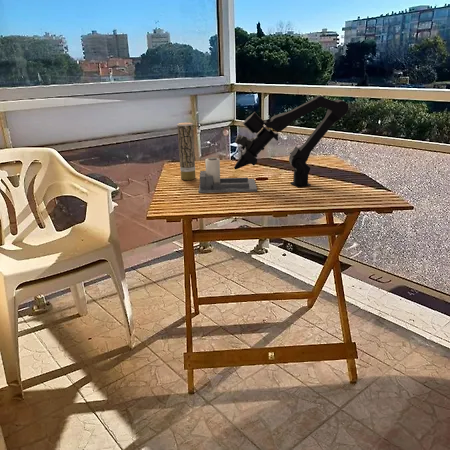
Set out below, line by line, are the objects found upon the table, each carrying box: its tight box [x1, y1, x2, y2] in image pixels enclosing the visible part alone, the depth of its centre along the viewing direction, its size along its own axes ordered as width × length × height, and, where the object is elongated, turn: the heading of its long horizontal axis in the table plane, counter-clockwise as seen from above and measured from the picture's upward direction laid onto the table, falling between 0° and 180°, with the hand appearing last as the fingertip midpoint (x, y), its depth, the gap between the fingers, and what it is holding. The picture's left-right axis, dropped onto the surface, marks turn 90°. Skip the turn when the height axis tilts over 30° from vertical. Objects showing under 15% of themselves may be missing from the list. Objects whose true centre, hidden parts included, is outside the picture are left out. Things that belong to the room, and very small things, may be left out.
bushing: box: [204, 156, 221, 184], centre depth 168 cm, size 6×6×11 cm
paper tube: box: [176, 122, 197, 181], centre depth 179 cm, size 7×7×25 cm
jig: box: [198, 170, 258, 194], centre depth 170 cm, size 24×16×6 cm, turn 91°
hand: (234, 168), depth 168 cm, fingers closed
